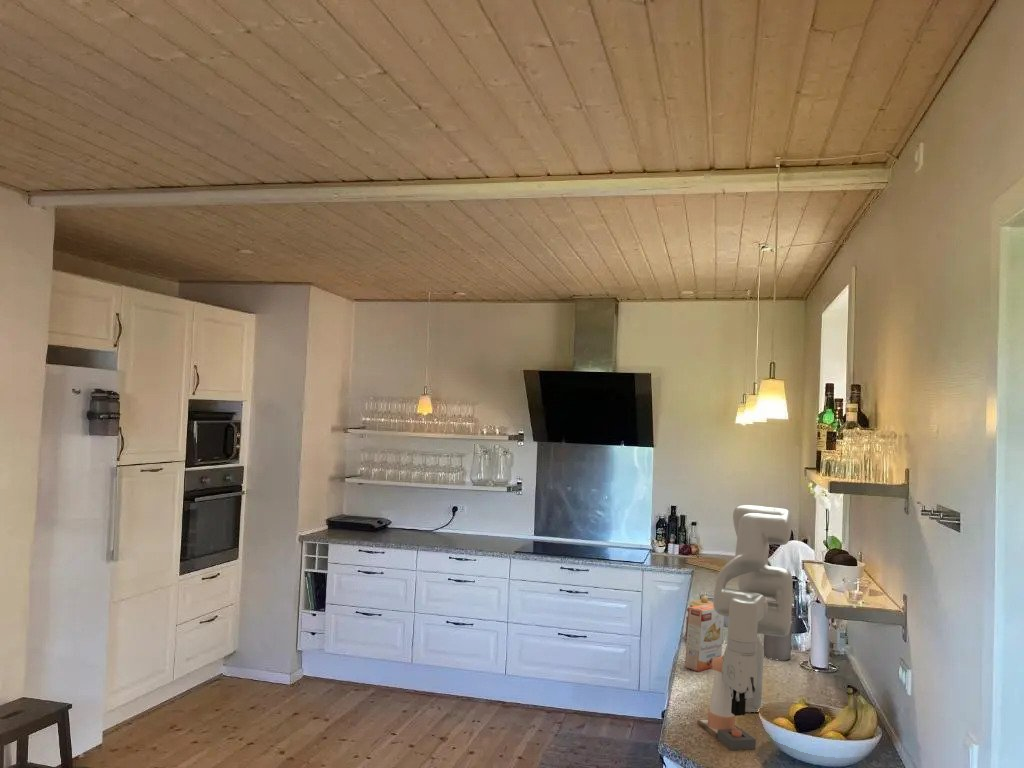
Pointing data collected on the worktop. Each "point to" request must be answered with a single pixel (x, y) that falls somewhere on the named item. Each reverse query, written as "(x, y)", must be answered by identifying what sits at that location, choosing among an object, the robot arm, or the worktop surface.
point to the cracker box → (703, 637)
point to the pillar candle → (778, 646)
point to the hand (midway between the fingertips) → (737, 714)
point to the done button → (736, 733)
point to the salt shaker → (720, 700)
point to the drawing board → (712, 731)
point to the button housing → (736, 740)
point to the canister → (696, 603)
